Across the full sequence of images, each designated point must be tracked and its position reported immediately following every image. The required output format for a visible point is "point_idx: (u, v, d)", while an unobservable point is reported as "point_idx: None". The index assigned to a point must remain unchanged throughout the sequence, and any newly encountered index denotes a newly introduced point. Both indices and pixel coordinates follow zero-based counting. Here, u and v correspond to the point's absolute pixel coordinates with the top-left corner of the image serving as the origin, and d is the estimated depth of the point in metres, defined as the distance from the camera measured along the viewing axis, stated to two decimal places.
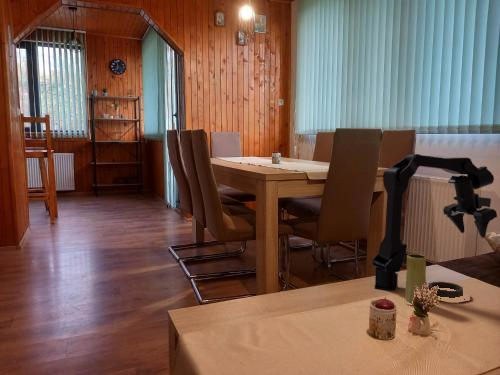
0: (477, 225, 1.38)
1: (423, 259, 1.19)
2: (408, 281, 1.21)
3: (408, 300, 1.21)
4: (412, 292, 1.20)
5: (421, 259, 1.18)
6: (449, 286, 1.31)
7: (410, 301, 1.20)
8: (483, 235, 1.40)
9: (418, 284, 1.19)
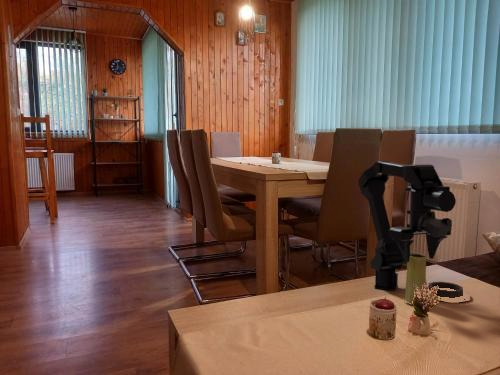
0: None
1: (423, 258, 1.19)
2: (408, 280, 1.21)
3: (408, 300, 1.21)
4: (412, 291, 1.20)
5: (421, 258, 1.19)
6: (449, 286, 1.31)
7: (410, 301, 1.20)
8: (405, 258, 1.19)
9: (418, 283, 1.19)
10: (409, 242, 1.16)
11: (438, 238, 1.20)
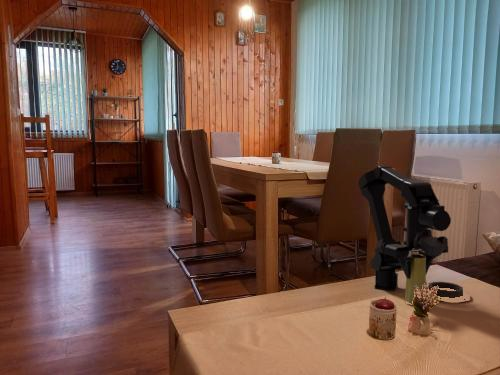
0: None
1: (423, 259, 1.19)
2: (408, 281, 1.21)
3: (408, 300, 1.21)
4: (412, 292, 1.20)
5: (421, 259, 1.18)
6: (449, 286, 1.31)
7: (410, 301, 1.20)
8: (406, 275, 1.21)
9: (418, 284, 1.19)
10: (410, 259, 1.17)
11: (430, 256, 1.20)
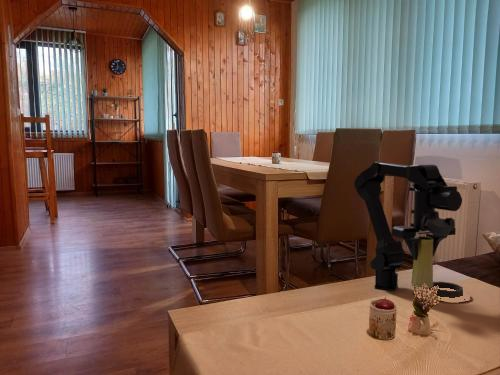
0: None
1: (430, 241, 1.20)
2: (415, 263, 1.22)
3: (415, 281, 1.22)
4: (419, 273, 1.21)
5: (428, 241, 1.19)
6: (449, 286, 1.31)
7: (417, 282, 1.21)
8: (413, 256, 1.22)
9: (425, 265, 1.20)
10: (416, 240, 1.18)
11: (437, 238, 1.21)
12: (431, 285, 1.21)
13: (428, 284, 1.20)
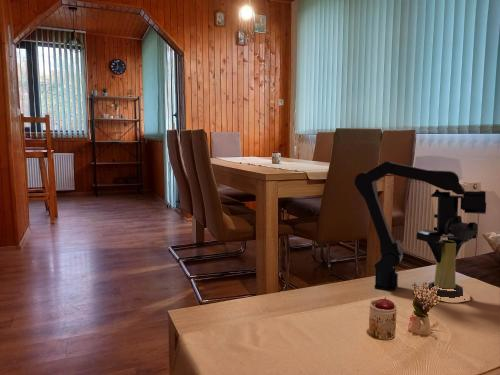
0: None
1: (454, 244, 1.25)
2: (438, 265, 1.27)
3: (438, 283, 1.27)
4: (442, 275, 1.26)
5: (452, 244, 1.25)
6: None
7: (440, 284, 1.26)
8: (437, 259, 1.27)
9: (448, 268, 1.25)
10: (441, 244, 1.23)
11: (460, 241, 1.27)
12: (454, 287, 1.26)
13: (451, 286, 1.26)
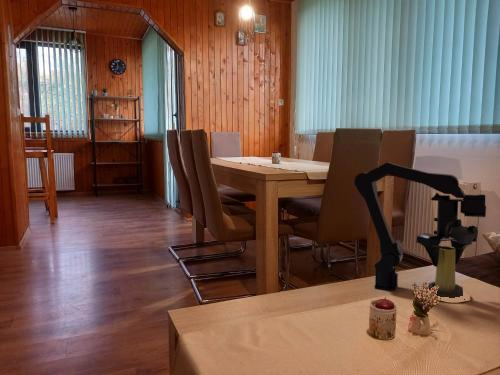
0: None
1: (453, 250, 1.25)
2: (438, 272, 1.27)
3: None
4: (442, 282, 1.26)
5: (451, 250, 1.25)
6: None
7: None
8: (434, 263, 1.26)
9: (448, 274, 1.25)
10: (438, 248, 1.23)
11: (463, 244, 1.27)
12: None
13: None
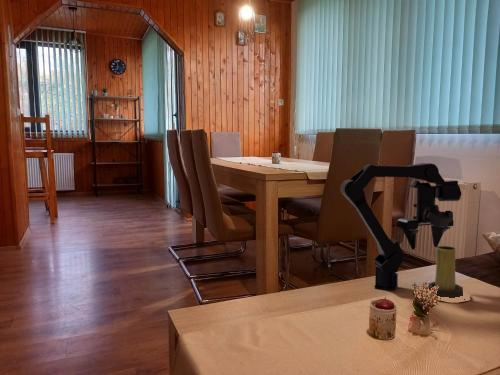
0: None
1: (453, 251, 1.25)
2: (438, 272, 1.27)
3: None
4: (442, 282, 1.26)
5: (451, 251, 1.25)
6: None
7: None
8: (411, 246, 1.35)
9: (448, 274, 1.25)
10: (414, 231, 1.31)
11: (442, 229, 1.35)
12: None
13: None
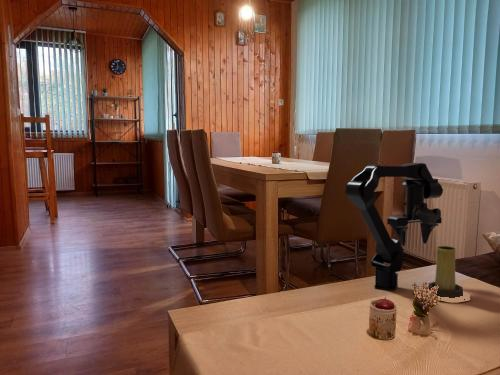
0: None
1: (453, 251, 1.25)
2: (438, 272, 1.27)
3: None
4: (442, 282, 1.26)
5: (451, 251, 1.25)
6: None
7: None
8: (401, 243, 1.40)
9: (448, 274, 1.25)
10: (404, 228, 1.37)
11: (430, 226, 1.41)
12: None
13: None
